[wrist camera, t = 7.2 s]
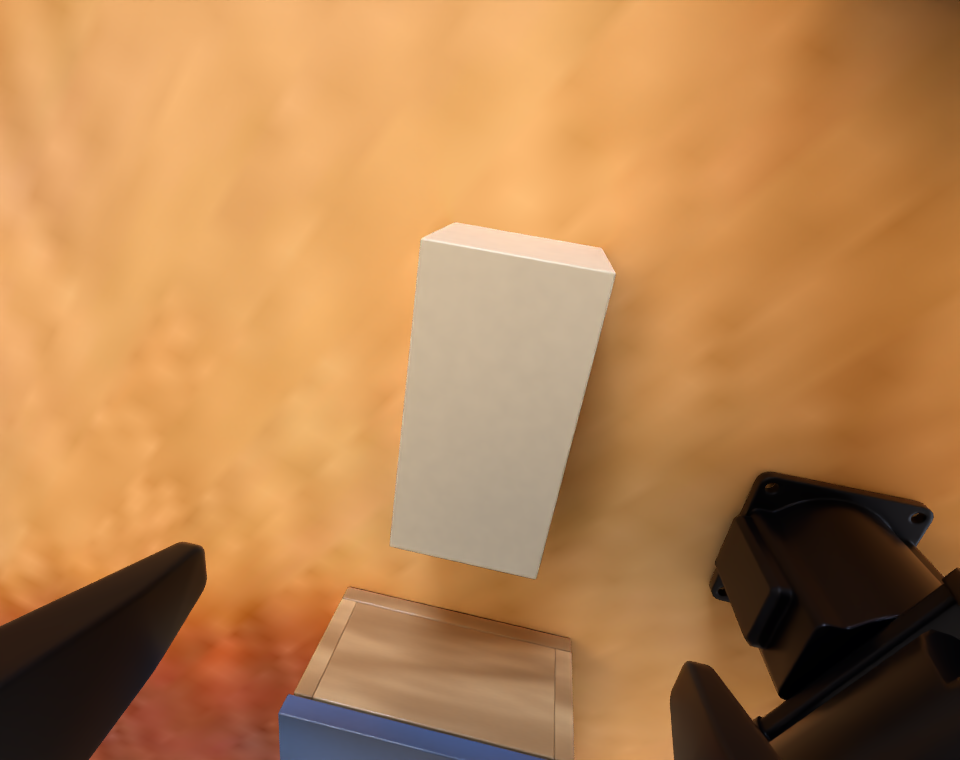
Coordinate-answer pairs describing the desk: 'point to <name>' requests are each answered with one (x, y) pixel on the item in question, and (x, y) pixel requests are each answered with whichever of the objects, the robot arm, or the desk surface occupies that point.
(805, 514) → the robot arm
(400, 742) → the blue lid
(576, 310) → the case
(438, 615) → the storage box
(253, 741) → the desk surface
